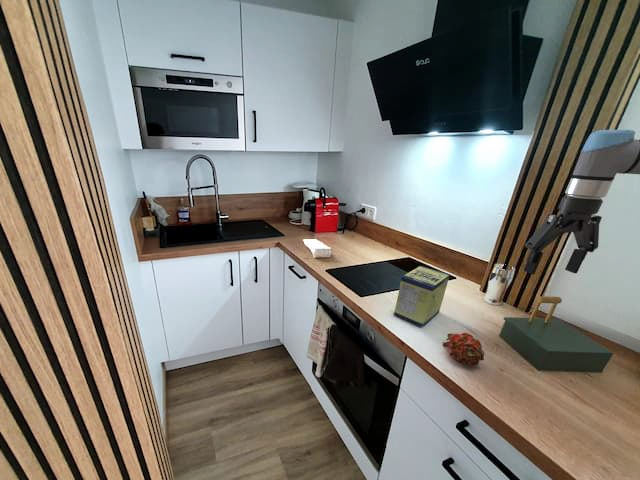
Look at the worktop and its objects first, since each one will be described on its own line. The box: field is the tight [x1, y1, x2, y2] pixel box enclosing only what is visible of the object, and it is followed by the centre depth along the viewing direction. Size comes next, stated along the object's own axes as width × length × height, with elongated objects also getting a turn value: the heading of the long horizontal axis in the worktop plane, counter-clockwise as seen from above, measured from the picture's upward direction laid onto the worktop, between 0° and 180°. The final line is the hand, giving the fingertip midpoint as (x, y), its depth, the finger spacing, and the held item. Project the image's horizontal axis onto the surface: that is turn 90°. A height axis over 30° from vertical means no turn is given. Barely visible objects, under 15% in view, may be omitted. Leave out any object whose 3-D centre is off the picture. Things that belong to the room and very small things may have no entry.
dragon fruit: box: [442, 331, 485, 367], centre depth 81 cm, size 8×8×12 cm
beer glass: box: [482, 263, 516, 306], centre depth 111 cm, size 7×7×15 cm
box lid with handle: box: [503, 295, 615, 356], centre depth 81 cm, size 16×18×10 cm
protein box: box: [393, 265, 451, 328], centre depth 100 cm, size 10×16×16 cm
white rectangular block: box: [302, 238, 332, 259], centre depth 164 cm, size 10×7×28 cm
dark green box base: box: [498, 320, 613, 373], centre depth 84 cm, size 16×18×6 cm
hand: (549, 272), depth 82 cm, fingers open, 13 cm apart
